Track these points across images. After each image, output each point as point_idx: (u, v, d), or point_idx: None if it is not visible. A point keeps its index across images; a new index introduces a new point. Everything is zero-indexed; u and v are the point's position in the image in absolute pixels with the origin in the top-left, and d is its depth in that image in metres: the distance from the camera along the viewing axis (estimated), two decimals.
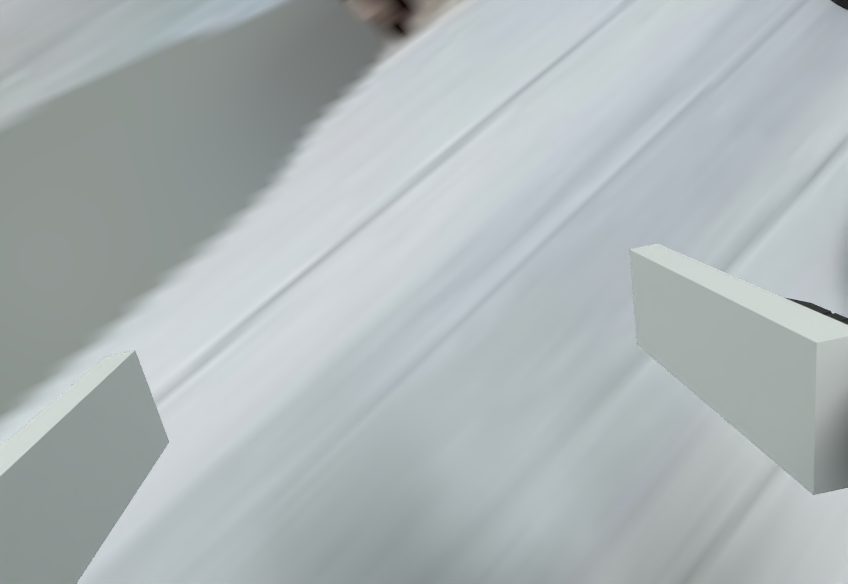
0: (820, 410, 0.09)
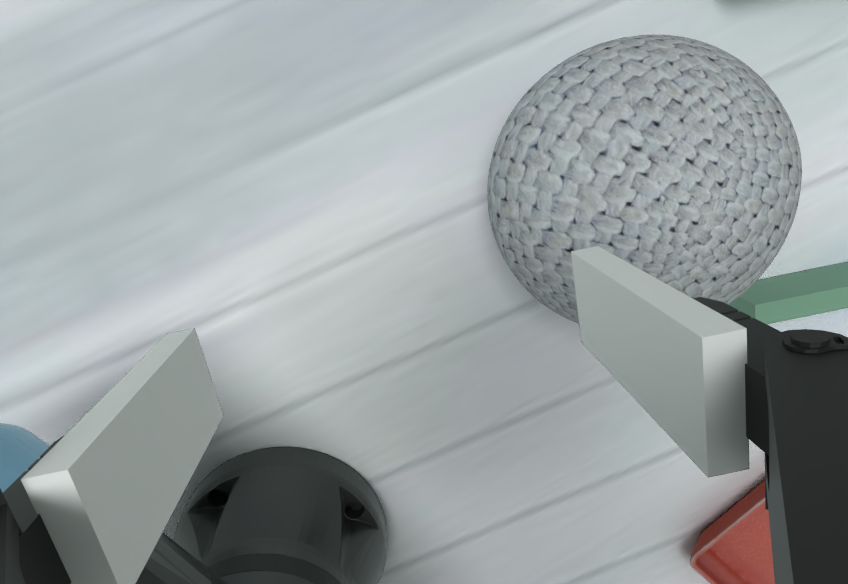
0: (710, 399, 0.10)
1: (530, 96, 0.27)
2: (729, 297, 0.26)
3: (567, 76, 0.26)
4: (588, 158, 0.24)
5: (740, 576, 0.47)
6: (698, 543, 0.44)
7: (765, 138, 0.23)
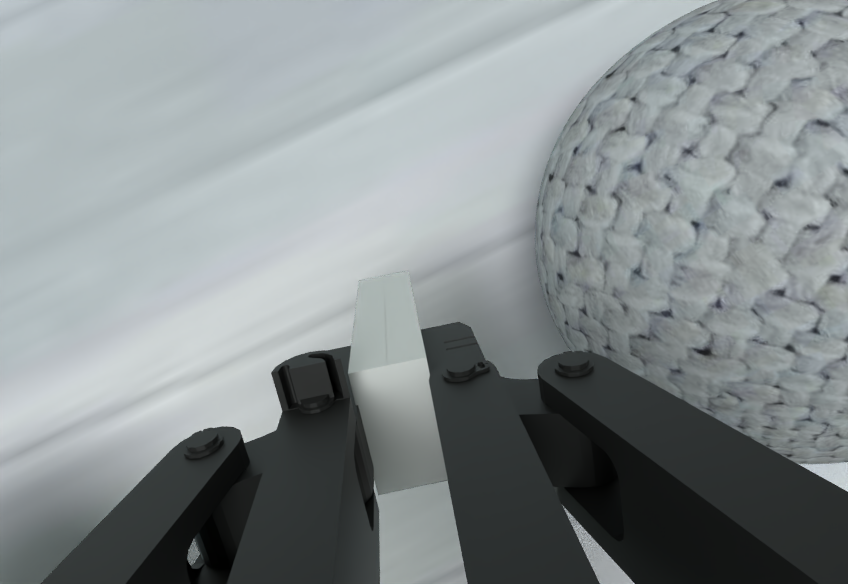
0: (405, 419, 0.11)
1: (616, 83, 0.16)
2: None
3: (688, 46, 0.15)
4: (750, 192, 0.13)
5: None
6: None
7: None
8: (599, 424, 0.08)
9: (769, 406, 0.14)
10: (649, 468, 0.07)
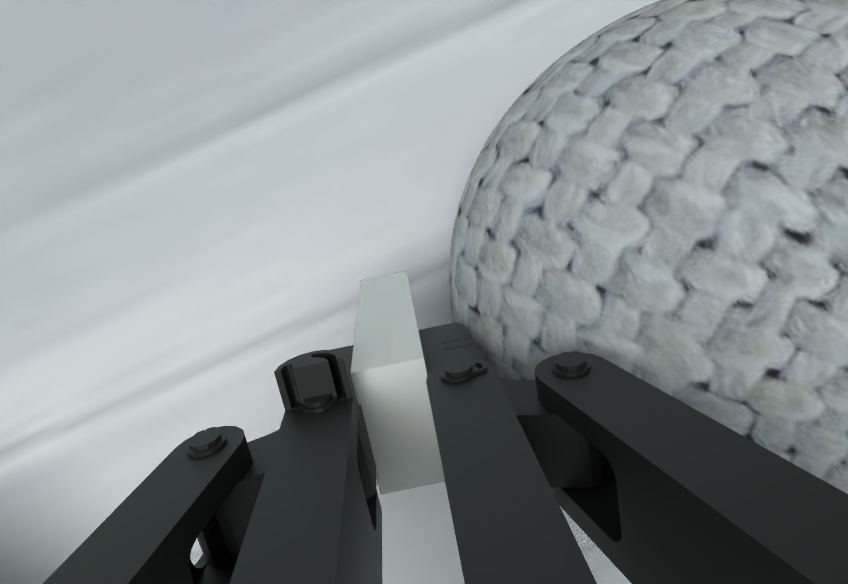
0: (403, 419, 0.11)
1: (528, 101, 0.13)
2: None
3: (607, 59, 0.12)
4: (666, 254, 0.10)
5: None
6: None
7: None
8: (596, 425, 0.08)
9: None
10: (646, 469, 0.07)
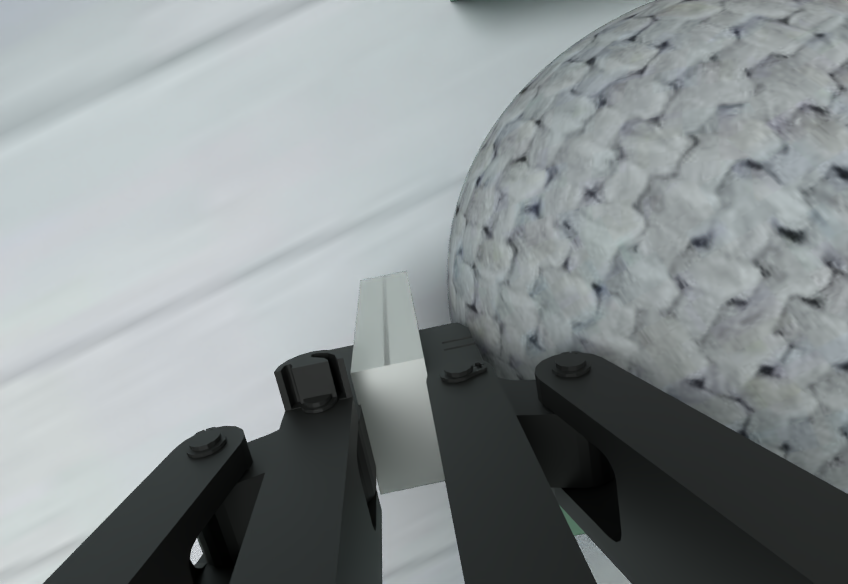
0: (403, 419, 0.11)
1: (526, 100, 0.14)
2: None
3: (604, 58, 0.12)
4: (661, 252, 0.10)
5: None
6: None
7: None
8: (596, 425, 0.08)
9: None
10: (646, 469, 0.07)
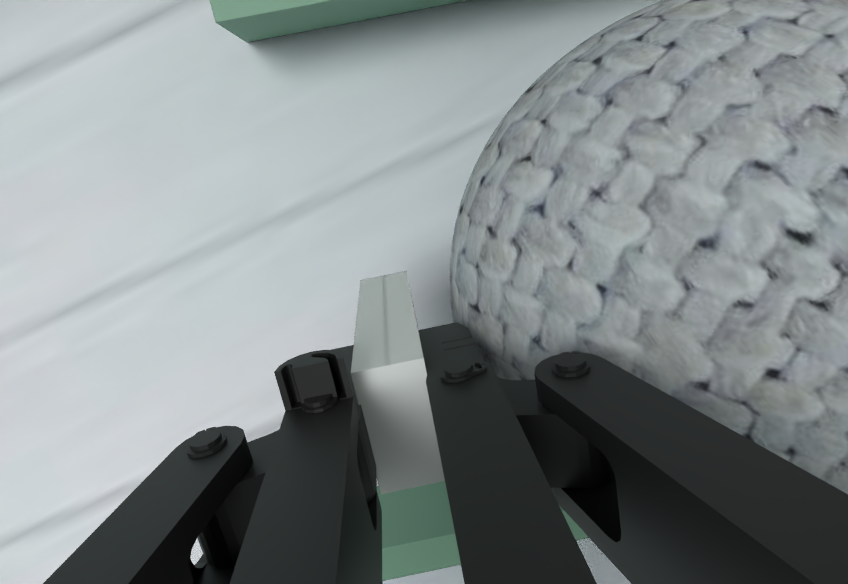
0: (403, 419, 0.11)
1: (531, 99, 0.13)
2: None
3: (610, 58, 0.12)
4: (668, 253, 0.10)
5: None
6: None
7: None
8: (596, 425, 0.08)
9: None
10: (646, 469, 0.07)
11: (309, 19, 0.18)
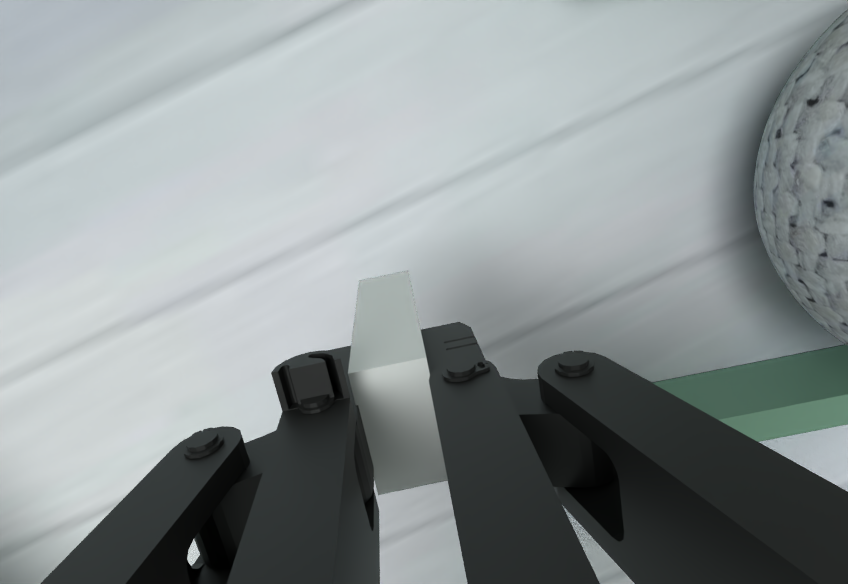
0: (406, 419, 0.11)
1: None
2: None
3: None
4: None
5: None
6: None
7: None
8: (599, 424, 0.08)
9: None
10: (649, 468, 0.07)
11: None
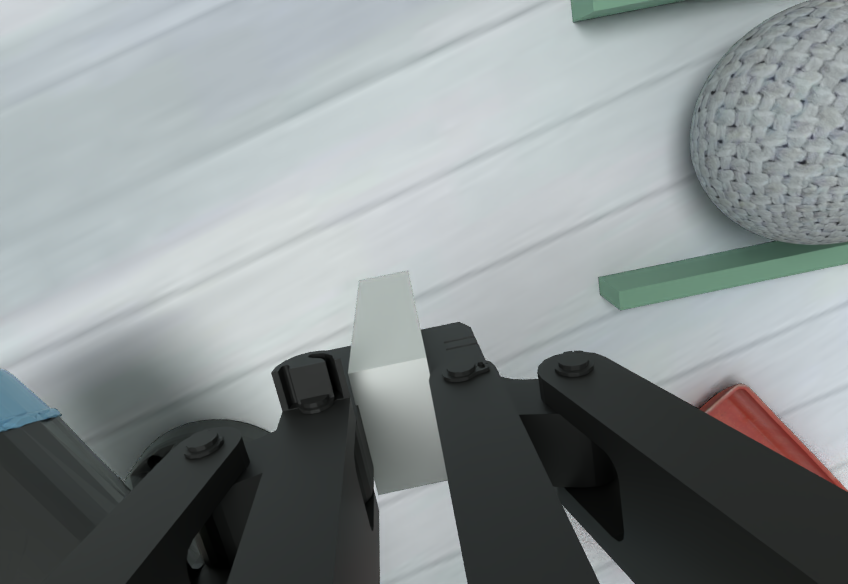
0: (405, 419, 0.11)
1: (755, 41, 0.33)
2: None
3: (796, 23, 0.32)
4: (828, 85, 0.29)
5: None
6: None
7: None
8: (599, 424, 0.08)
9: (831, 188, 0.31)
10: (649, 468, 0.07)
11: (618, 10, 0.38)
